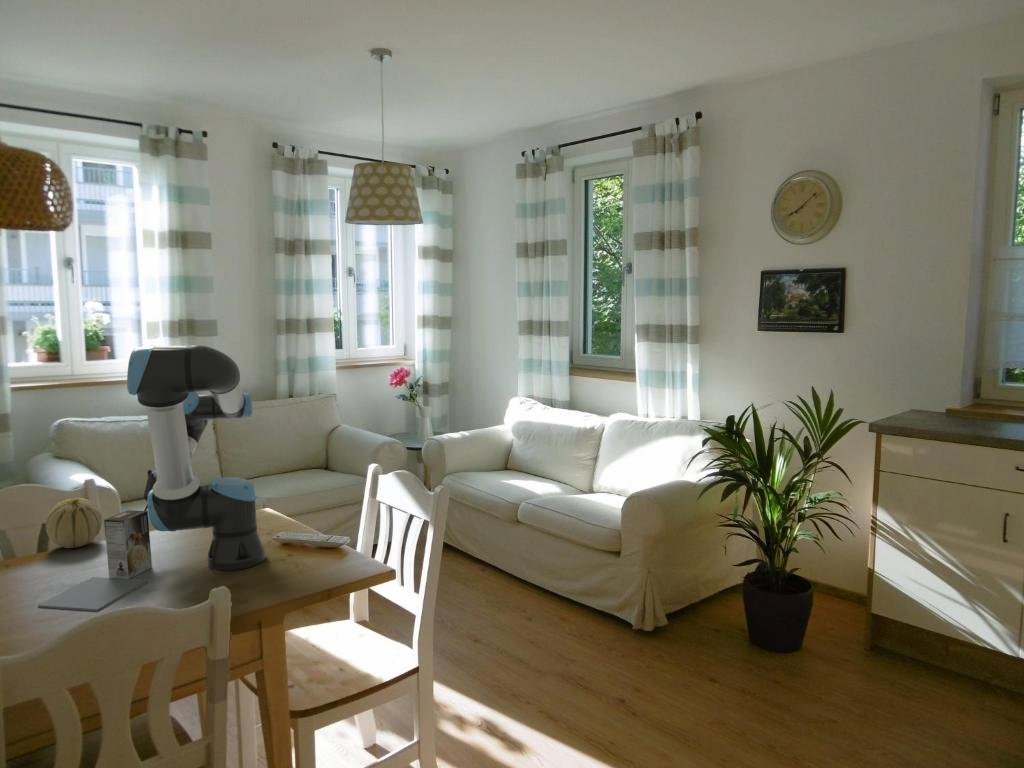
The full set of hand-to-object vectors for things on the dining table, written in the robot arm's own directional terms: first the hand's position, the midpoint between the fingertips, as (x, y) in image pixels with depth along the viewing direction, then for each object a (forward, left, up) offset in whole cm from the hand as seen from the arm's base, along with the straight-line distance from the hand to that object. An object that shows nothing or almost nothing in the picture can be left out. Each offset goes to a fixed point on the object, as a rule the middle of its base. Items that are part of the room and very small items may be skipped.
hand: (145, 523), depth 203 cm
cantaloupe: (+31, -9, -11) cm, 34 cm away
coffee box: (0, +8, -11) cm, 14 cm away
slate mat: (-1, +22, -11) cm, 25 cm away
